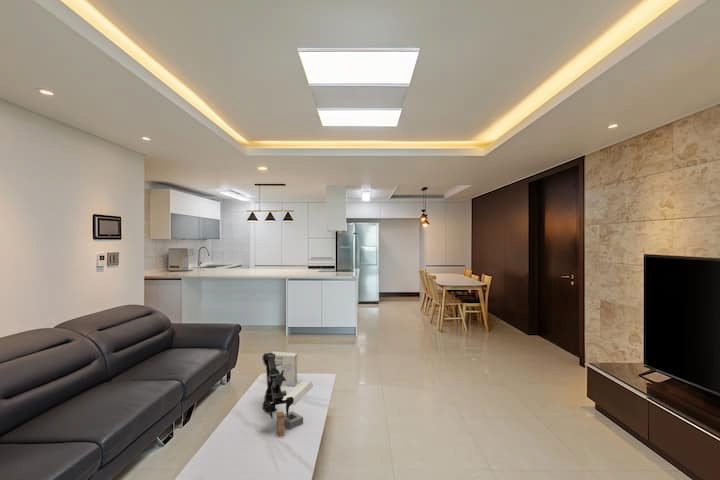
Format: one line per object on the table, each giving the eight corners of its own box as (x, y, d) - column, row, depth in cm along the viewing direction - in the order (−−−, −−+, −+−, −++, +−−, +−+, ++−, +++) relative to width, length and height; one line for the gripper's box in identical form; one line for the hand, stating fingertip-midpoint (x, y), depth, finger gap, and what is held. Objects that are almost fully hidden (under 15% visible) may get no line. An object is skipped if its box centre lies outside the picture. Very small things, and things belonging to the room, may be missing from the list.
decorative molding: (282, 407, 253) (294, 405, 250) (281, 400, 253) (293, 398, 251) (302, 388, 286) (313, 386, 283) (300, 382, 286) (311, 380, 284)
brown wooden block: (276, 432, 213) (276, 412, 213) (282, 431, 214) (282, 411, 214) (278, 436, 208) (278, 415, 208) (284, 435, 210) (284, 414, 210)
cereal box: (268, 384, 285) (269, 354, 286) (272, 381, 293) (272, 351, 293) (293, 386, 282) (294, 355, 282) (296, 383, 289) (297, 353, 290)
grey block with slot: (279, 422, 225) (279, 416, 225) (292, 417, 232) (292, 410, 233) (290, 429, 217) (290, 422, 217) (303, 423, 224) (303, 417, 224)
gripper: (263, 388, 215) (266, 414, 204) (293, 383, 222) (297, 408, 212) (261, 396, 222) (263, 422, 211) (290, 391, 229) (294, 416, 219)
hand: (279, 417), depth 213 cm, fingers open, 9 cm apart
